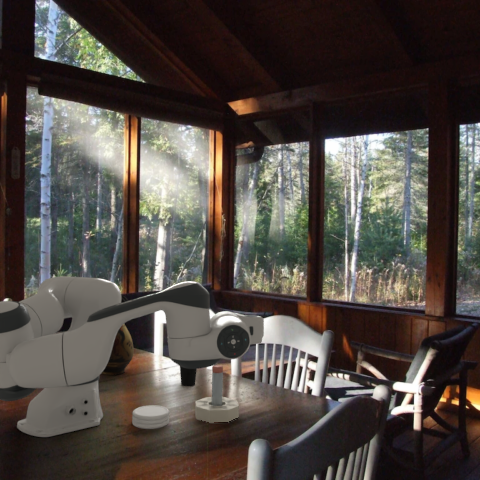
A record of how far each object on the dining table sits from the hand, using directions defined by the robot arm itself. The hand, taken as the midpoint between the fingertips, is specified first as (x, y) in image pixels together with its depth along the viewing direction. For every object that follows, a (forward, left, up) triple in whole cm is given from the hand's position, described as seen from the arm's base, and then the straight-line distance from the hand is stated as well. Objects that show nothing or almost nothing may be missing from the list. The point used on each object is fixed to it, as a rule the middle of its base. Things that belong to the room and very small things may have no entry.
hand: (221, 322), depth 139 cm
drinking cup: (+27, +36, -29) cm, 53 cm away
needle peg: (+9, +8, -28) cm, 31 cm away
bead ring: (+9, +8, -28) cm, 31 cm away
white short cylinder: (-7, +18, -29) cm, 35 cm away
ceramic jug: (+20, +69, -29) cm, 77 cm away
